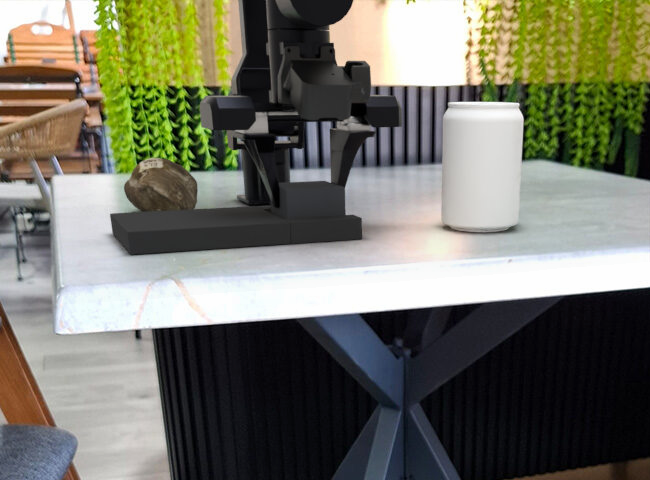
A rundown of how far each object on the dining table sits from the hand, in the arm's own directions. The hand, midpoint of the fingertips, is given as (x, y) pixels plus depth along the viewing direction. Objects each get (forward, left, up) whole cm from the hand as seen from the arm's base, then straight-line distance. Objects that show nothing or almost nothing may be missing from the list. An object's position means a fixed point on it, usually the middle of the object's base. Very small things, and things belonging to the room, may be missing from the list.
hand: (306, 205), depth 90 cm
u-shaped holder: (0, -7, -3) cm, 8 cm away
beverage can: (+4, +18, -3) cm, 18 cm away
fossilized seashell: (-18, -11, -3) cm, 21 cm away
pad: (0, 0, -2) cm, 2 cm away
